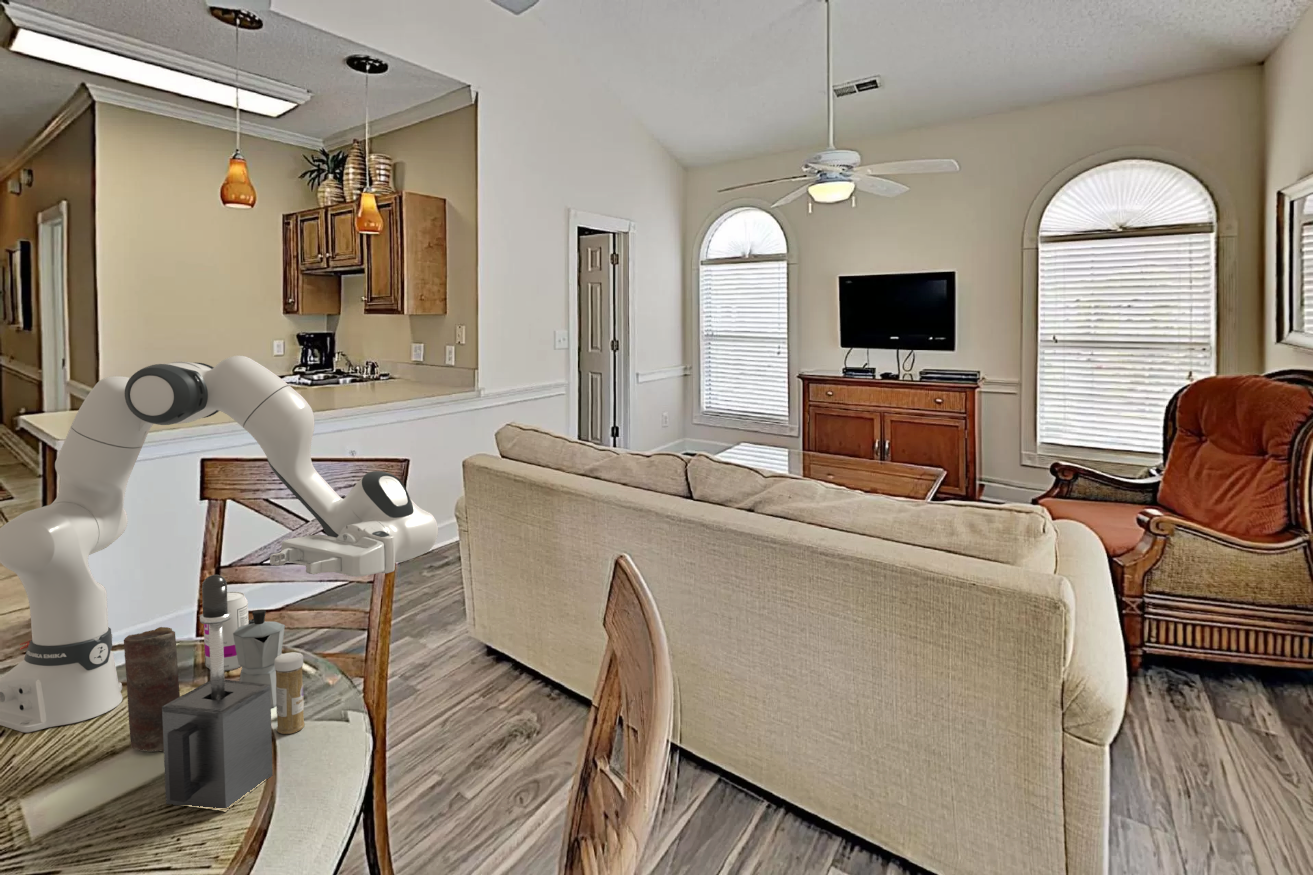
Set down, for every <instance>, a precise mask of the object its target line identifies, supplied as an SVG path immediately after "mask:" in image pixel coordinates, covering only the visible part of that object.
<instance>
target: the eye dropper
mask: <svg viewBox="0 0 1313 875" xmlns="http://www.w3.org/2000/svg"><path fill="white" fill-rule="evenodd" d="M227 592H228V582H227V580H226V578H225V577H224V576H222V575H220V574H212V575H208V576H207V577H206V578H205V579H204V580H203V582H202V585H201V596H202V598H201V600H202V614H200V615H199V623H201V624H203V625H204V624H209V646H210V669H209V671H210V680H211V700H219V701H220V700H221V699H223V698H225V680H226V679H225V671H224V647H223V622H225V621H228V620H230V619H231V612H230V611H228V603H227Z"/></svg>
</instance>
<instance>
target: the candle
mask: <svg viewBox="0 0 1313 875" xmlns="http://www.w3.org/2000/svg"><path fill="white" fill-rule="evenodd" d="M176 640H177V639H176V631H174V630H173V629H172V628H171V627H166V626H163V627H162V626H159V627H156V629H151V630H148V631H144V632H143V631H142V632H141V633H140V632H139V633H135V634H129V635H127V636H125V638H124V639H123V649H124V663H125V664H124V665H125V675H126V676H125V677H126V694H127V696H126V697H127V709H128V727H129V728H128V729H129V741H130V742H129V743H130V747H131V748H133V749H135V750H137V751H144V752H148V753H151V752H164V743H163V718H162V706H164V705H166V704H168V703H170V702H171V701H173V700H175V699H177V698H179V697H181V696H180V695H181V694H180V680H179V667H178V651H177V641H176Z"/></svg>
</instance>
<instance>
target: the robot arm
mask: <svg viewBox="0 0 1313 875" xmlns="http://www.w3.org/2000/svg"><path fill="white" fill-rule="evenodd" d="M219 412H221V413H223V414H225V415H227V416H228V417H230V419H233V420H234V421H235V422H236V423H237V424H239V426H240V427H241V428H243V429H244V430H245V431H246V432H247V433H249V435H251V436H252V438H253V439H254V440H255V441H256V442H257V444H258V445H259V447H260V448H261V449H262V451H263V452H264V455H265V456H266V460H267V463H268V465H269V467H270V469H271V470H272V472H273V473H274V475H276V477H277V478H278V479H279V480H280V481H281V482H282V484H283V485H284V486H285V487H286V488H287V489H288V490H289V491H290V492H291V493H292V494H293V496H295V498H296V499H297V500H298V501H300V503H301V504H302V505H303V506H304V507H305V508H306V510H308V511H309V512H310V514H311V515H312V516H313V517H314V518H315V520H317V521H318V523H319V524H320V526H321V527H322V529H323V531H324V533H325V534H326V535H325V534H313V535H311V534H310V535H305V536H300V537H294V538H289V539H284V540H283V541H282V542H281V548H280V549H281V551H279V552H276V553H274V554H273V553H272V554H270V556H269V564H270V565H272V566H276V567H279V566H284V565H286V563H288V562H289V563H293V564H297V565H301V566H305V572H306V574H309V575H313V576H314V575H319V574H324V573H336V574H342V575H346V576H350V577H366V576H371V575H377V574H380V573H381V574H390V573H393V572H394V571H395V568H396V564H397V563H402V562H406V561H408V560H409V561H410V560H412V559H414V558H417V557H420V556H422V555H424V554H427V552H429V551H430V550H431V549H432V548H433V547H434V545H435V544H436V542H437V540H438V537H439V536H438V535H439V527H438V526H439V525H438V522H437V520H436V518H435V517H434V515H433V514H432V513H431V512H430V511H427V510H424V509H423V508H421V507H420V506H418V504H416V503H415V502H414V500H412V499H411V497H410V495H409V492H408V490H407V488H406V486H405V484H404V483H403V481H402V480H401V479H400V478H398V477H397V476H395V475H394V474H392V473H391V472H386V471H382V470H381V471H380V470H375V471H374V470H373V471H369V472H367V473H365V474H364V475H363V476H362V478H361V479H360V480H358V482H356V484H354V486H353V487H352V488H351V490H350V491H349V493H348V494H347V495H346V496H345V497H344V498H342V497H341V496H340V495H339V494H338V493H337V492H336V490H334V489H333V488H332V486H330V484H328V482H327V481H326V480H325V479H324V478H323V477H322V475H321V474H320V473H318V471H317V470H316V469H315V467H314V464H313V462H312V456H311V451H312V450H311V449H312V448H311V447H312V440H313V436H314V431H315V416H314V411H313V408H312V407H311V405H310V404H309V403H308V401H307V400H306V398H304V396H302V395H301V394H300V393H299V392H297V390H295V389H294V388H293V387H292V386H290V385H289V383H287V382H286V381H285V380H284V379H282V378H281V377H280V376H278V375H277V374H276V373H274V372H272V371H271V370H270V369H269V368H267V367H266V366H264V365H262V364H260V363H259V362H257V361H256V360H254V359H253V358H250V357H249V356H245V355H233V356H229V357H227V358H225V359H223V360H221V361H219V362H218V363H216V365H215V366H212V365H210V364H207V363H202V362H192V361H191V362H190V361H173V362H168V363H157V364H155V363H154V364H150V365H147V366H145V367H143V368H141V369H139V370H137V371H136V372H134V374H133V375H131V376H130V377H128V376H122V375H121V376H120V375H113V376H107V377H104V378H101V379H100V380H99V381H98V382H97V383H96V384H95V385H94V386H93V387H92V389H91V390H90V391H89V392H88V395H87V396H86V397H85V399H84V400H83V402H82V404H81V406H80V407H79V409H78V410H77V413H76V414H75V416H74V419H73V421H72V423H71V425H70V428H69V430H68V433H67V434H66V437H65V439H64V441H63V444H62V446H61V448H60V450H59V453H58V456H57V458H56V460H55V462H54V469H55V472H56V473H57V475H58V476H59V477H60V482H59V490H58V494H57V497H56V498H55V499H54V501H53V502H52V503H50V504H48V505H44V506H41V507H37V508H35V509H33V508H32V509H31V510H26V511H25V512H23V513H21V514H19V515H16V517H14V518H12V519H11V520H10V521H8V522H6V523H4V525H2V526H1V527H0V564H1V565H2V566H3V567H4V568H6V569H7V570H9V571H11V572H13V573H14V574H16V576H17V577H18V578H19V580H20V582H21V583H22V586H23V588H24V590H25V593H26V596H27V599H28V605H29V615H30V625H31V639H30V640H27V641H24V642H21V643H19V646H22V647H20V648H19V650H25V649H26V652H25V656H24V659H23V660H22V661H20V662H19V663H18V664H17V665H15V666H14V667H12V668H11V669H10V670H9V671H8V672H6V673H5V674H3V675H2V676H0V726H3V727H6V728H9V729H12V730H15V731H17V732H22V733H31V732H36V731H40V730H43V729H47V728H51V727H58V726H65V725H70V724H75V723H79V722H84V721H86V720H90V719H92V718H95V717H96V718H97V717H98V716H101V715H103V714H105V713H108V712H109V711H111V710H113V709H115V708H116V707H118V706H119V705H120V704H121V702H122V701H123V699H124V698H123V695H122V693H121V691H122V690H123V685H122V682H121V681H119V680H118V678H119V677H118V673H117V667H116V661H115V655H114V652H113V651H112V648H113V634H112V628H111V627H110V626H109V614H108V613H109V611H108V593H107V589H106V587H105V586H103V584H102V583H100V582H98V581H96V579H95V577H94V576H93V575H94V574H92V571H91V568H90V565H89V556H91V555H94V554H96V553H98V552H100V551H103V550H105V549H106V548H108V547H110V545H112V544H113V543H114V542H116V541H117V540H118V539H119V538H120V537H121V536H123V533H125V531H126V529H127V526H128V522H129V521H128V520H129V518H128V514H127V511H126V509H125V507H124V504H125V497H126V496H125V495H126V491H127V490H126V489H127V485H128V482H129V478H130V477H131V474H132V472H133V469H134V467H135V465H136V463H137V460H138V458H139V455H140V453H141V451H142V448H143V446H144V444H145V441H146V439H147V437H148V434H149V433H150V430H151V428H152V426H153V425H157V426H159V425H160V426H169V425H176V424H178V425H179V424H187V423H192V422H195V421H197V420H200V419H205V418H209V417H211V416H214V415H216V414H217V413H219ZM23 645H24V646H23Z"/></svg>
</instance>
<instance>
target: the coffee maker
mask: <svg viewBox="0 0 1313 875" xmlns="http://www.w3.org/2000/svg"><path fill="white" fill-rule="evenodd" d="M266 612H267V611H266V609H257V610H253V611H252V619H248V625H245V626H241V627H239V628H238V629H237V630H236V631H235V632H234V633H233V637H234V642H235V648H236V653H237V658H238V664H239V665H240V666H241V670H240V674H239V676H240V677H239V681H242V682H251V683H260V684H269V685H270V694H271V709H274V708H277V707H276V671H275V658H276V657H277V656H279V655H281V654H283V651H282V650H283V643H284V634H285V627H286V625H285V624H284V623H280V622H277V621H266V620H265V619H266Z"/></svg>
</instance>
